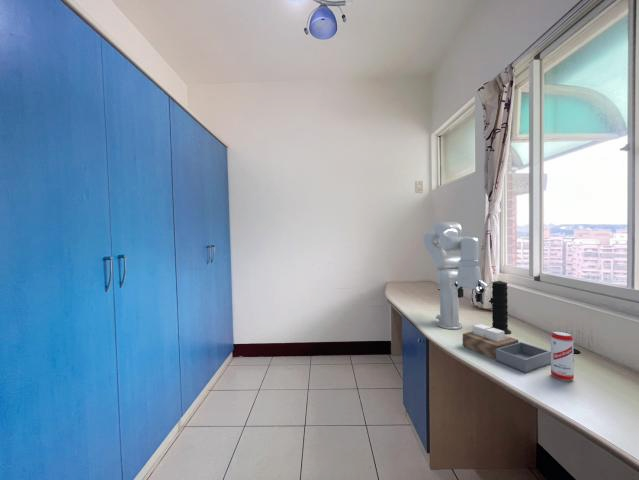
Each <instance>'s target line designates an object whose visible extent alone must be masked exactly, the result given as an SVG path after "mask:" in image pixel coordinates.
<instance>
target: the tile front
mask: <svg viewBox="0 0 639 480" xmlns="http://www.w3.org/2000/svg"><path fill="white" fill-rule="evenodd" d="M504 335H505V334H504V331H502V330H499V329H495V328H490V329H486V338H489V339H491V340H494V341H500V340H504V339H505V337H504Z"/></svg>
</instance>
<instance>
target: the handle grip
mask: <svg viewBox="0 0 639 480" xmlns="http://www.w3.org/2000/svg"><path fill="white" fill-rule="evenodd" d="M491 283H492V286H491V288H492V290H491V295H492V296H491V297H492V298H491V300H492V302H491V303H492V304H491V306H492V308H491V309H492V311H491V312H492V317H491V319H492V323H491V324H492V326H490V327H491V328H495V329H499V330H502V331H504V335H511V334H512V330H510V329H509V328H508V327H509V323H508V321H509V320H508V315H509V314H508V313H509V312H508V307H509V306H508V302H509V301H508V282H505V281H501V280H496V281H491Z"/></svg>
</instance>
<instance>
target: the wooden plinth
mask: <svg viewBox="0 0 639 480" xmlns="http://www.w3.org/2000/svg"><path fill="white" fill-rule="evenodd" d="M504 337H505V339H504V340H500V341H494V340H491V339H489V338H486V336H485V337H483V336H480V335H477V334H474V333H473V331H467V332H463V333H462V347H463V346H464V347H463V348H465V347H466V349H468V350H470V349H471V350H470V351H473V350H474V351H473V352H475V351H476V352H475V353H479V354H481V355H482V356H485V357H488V358H490V359H493V360H495V361H496V349H498V348H501V347H505V346H508V345H512V344H515V343H518V342H519V339H517V338H514V337H511V336H507V335H506V334H504Z"/></svg>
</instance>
